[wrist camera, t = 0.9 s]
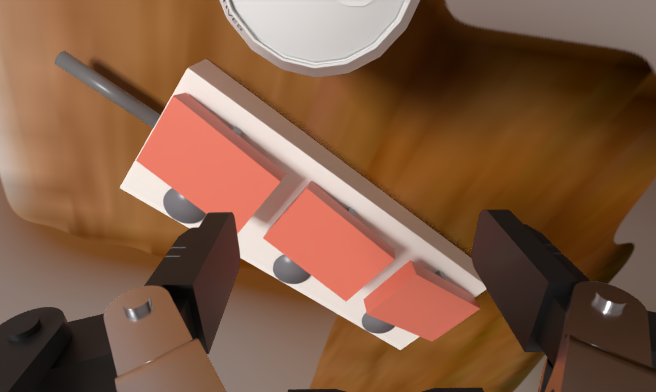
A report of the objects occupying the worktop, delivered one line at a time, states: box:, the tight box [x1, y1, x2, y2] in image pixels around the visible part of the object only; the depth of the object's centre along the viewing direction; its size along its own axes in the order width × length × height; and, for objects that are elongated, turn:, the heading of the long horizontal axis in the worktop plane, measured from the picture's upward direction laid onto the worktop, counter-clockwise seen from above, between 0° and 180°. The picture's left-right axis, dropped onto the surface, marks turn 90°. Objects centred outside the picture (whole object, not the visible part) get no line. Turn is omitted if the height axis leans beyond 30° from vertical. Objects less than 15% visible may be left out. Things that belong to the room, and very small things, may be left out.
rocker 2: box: [363, 260, 480, 342], centre depth 32 cm, size 6×9×2 cm, turn 51°
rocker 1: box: [136, 93, 286, 234], centre depth 25 cm, size 6×9×2 cm, turn 51°
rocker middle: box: [263, 181, 395, 301], centre depth 29 cm, size 6×9×2 cm, turn 51°
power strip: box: [55, 51, 486, 350], centre depth 31 cm, size 12×40×5 cm, turn 51°
